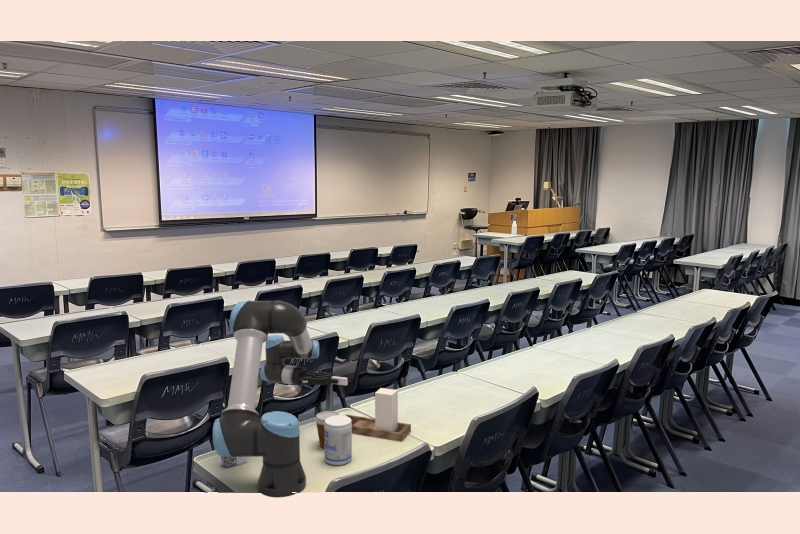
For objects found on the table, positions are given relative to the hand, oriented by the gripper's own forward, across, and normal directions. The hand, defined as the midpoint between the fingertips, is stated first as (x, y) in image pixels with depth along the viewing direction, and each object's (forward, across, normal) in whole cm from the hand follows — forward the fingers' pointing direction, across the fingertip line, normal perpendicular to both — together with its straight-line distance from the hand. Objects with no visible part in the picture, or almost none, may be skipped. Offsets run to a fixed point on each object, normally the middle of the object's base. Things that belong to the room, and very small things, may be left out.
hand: (346, 381), depth 231 cm
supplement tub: (+10, +27, -19) cm, 35 cm away
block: (+17, 0, -17) cm, 24 cm away
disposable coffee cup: (+2, +19, -19) cm, 27 cm away
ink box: (-22, +43, -20) cm, 52 cm away
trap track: (+12, 0, -19) cm, 22 cm away
